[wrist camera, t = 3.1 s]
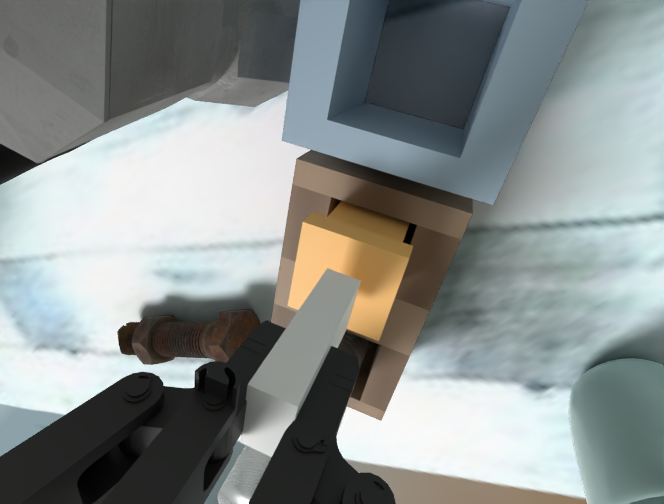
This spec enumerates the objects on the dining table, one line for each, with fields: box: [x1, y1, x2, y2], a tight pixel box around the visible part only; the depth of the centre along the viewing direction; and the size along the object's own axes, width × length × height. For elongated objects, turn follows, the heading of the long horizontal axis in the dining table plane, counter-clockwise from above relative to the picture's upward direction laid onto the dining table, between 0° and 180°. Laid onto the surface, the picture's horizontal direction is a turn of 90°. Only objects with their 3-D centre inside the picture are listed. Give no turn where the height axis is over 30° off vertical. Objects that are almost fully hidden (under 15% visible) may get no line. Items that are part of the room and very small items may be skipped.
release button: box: [287, 201, 413, 341], centre depth 20 cm, size 5×5×7 cm
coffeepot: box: [0, 0, 300, 185], centre depth 16 cm, size 15×9×18 cm, turn 137°
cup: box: [569, 358, 664, 504], centre depth 21 cm, size 8×8×10 cm
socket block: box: [271, 150, 472, 420], centre depth 25 cm, size 9×16×6 cm, turn 168°
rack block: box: [282, 0, 589, 205], centre depth 18 cm, size 10×9×7 cm
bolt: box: [118, 309, 261, 365], centre depth 35 cm, size 6×5×15 cm
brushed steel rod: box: [218, 331, 370, 504], centre depth 23 cm, size 4×4×16 cm
